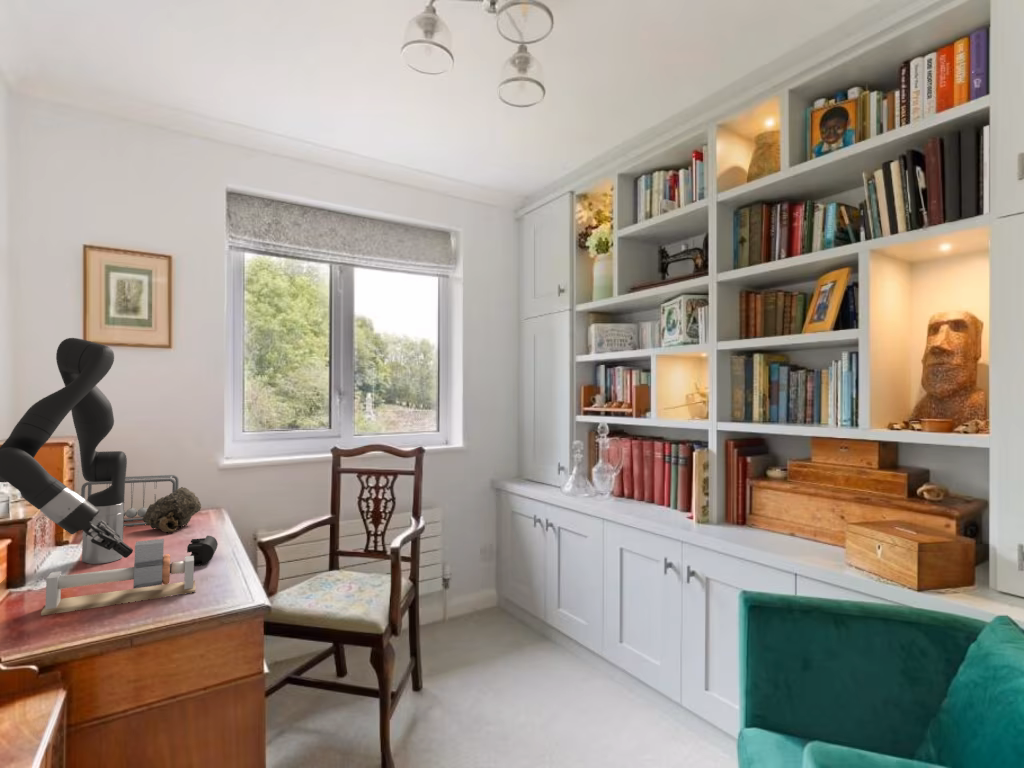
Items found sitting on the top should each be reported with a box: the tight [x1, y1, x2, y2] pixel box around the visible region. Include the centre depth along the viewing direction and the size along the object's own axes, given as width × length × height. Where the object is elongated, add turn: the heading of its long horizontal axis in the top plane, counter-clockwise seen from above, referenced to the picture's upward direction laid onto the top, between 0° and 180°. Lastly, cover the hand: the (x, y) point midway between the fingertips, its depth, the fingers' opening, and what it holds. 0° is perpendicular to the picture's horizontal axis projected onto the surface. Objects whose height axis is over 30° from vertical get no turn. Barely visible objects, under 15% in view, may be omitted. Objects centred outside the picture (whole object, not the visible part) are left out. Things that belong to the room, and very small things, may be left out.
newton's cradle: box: [80, 474, 180, 527], centre depth 213 cm, size 30×10×18 cm, turn 116°
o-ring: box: [162, 553, 171, 585], centre depth 143 cm, size 2×7×7 cm, turn 31°
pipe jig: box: [44, 555, 195, 610], centre depth 138 cm, size 30×5×8 cm, turn 121°
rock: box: [142, 486, 202, 534], centre depth 206 cm, size 18×14×15 cm
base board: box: [40, 579, 196, 616], centre depth 138 cm, size 31×8×1 cm, turn 121°
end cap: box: [186, 535, 219, 567], centre depth 169 cm, size 10×7×7 cm
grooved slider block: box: [132, 538, 165, 589], centre depth 141 cm, size 6×6×10 cm
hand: (129, 554), depth 139 cm, fingers closed
